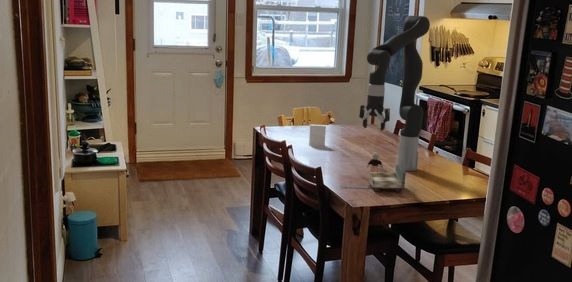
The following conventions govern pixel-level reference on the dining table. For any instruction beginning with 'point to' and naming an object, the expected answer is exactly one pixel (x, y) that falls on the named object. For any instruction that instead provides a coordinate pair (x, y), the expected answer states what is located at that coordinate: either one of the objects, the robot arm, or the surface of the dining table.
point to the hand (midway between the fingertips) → (373, 129)
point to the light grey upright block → (317, 136)
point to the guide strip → (360, 187)
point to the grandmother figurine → (374, 163)
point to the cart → (388, 179)
